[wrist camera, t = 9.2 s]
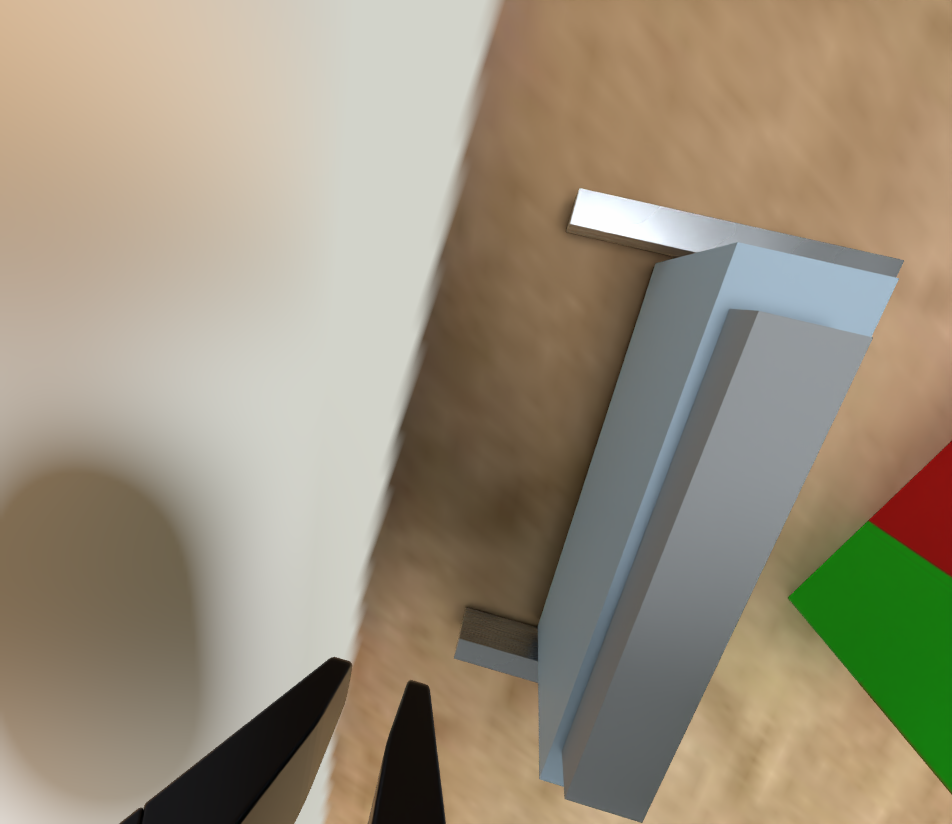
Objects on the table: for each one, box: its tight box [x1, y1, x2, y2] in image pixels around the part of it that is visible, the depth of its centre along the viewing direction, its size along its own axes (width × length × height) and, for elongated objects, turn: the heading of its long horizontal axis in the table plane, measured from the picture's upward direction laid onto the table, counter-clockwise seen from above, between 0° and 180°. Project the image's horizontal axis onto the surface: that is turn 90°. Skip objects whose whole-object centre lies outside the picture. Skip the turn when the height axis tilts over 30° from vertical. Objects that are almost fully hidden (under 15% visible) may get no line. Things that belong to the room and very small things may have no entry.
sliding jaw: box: [538, 242, 899, 823], centre depth 11 cm, size 12×3×6 cm, turn 167°
